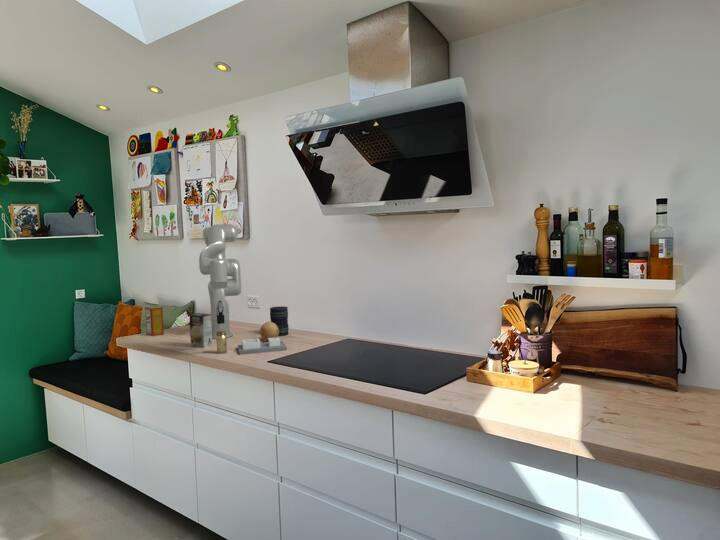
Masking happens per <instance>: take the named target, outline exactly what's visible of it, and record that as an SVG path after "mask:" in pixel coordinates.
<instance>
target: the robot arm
mask: <svg viewBox="0 0 720 540" xmlns="http://www.w3.org/2000/svg"><path fill="white" fill-rule="evenodd" d="M237 229H238V228H237V227H236V226H235V225H234V224H226V223H225V224H213V225H211V226H208V227H205V228H204V229H203V230H202V237H203V240H204V243H205V247H204V248H202V251H201V252H200V253H199V257H198V261H199V262H198V268H199V272H200V273H201V274H202V275H205V276H206V275H207V276H208V275H209V276H210V277H209V279H210V281H209V282H208V284H207V289H208V294H209V302H210V314H211V326H212V340H213V339H216V340H217V334H216V332H218V331H226V339H227V338H232V337H233V336H234V333H233V332H231V324H230V306H229V303H228V301H227V299H226V297H235V296H240V294H241V293H242V278H241V277H242V276H241V267H240V266H241V265H240V262H239V260H238V259H236V258H226V248H227V245H226V243H234V242H235V241H237V239H238V230H237ZM228 277H231V278H228Z"/></svg>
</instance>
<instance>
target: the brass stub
mask: <svg viewBox="0 0 720 540" xmlns="http://www.w3.org/2000/svg"><path fill="white" fill-rule="evenodd" d="M216 334H217V339H216V348H217V349H216V350H217V351H216V352H217V354H220V355H223V354H227V353H228V347H227V346H228V342H227V338H226V331H218V332H216Z"/></svg>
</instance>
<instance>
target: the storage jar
mask: <svg viewBox="0 0 720 540" xmlns="http://www.w3.org/2000/svg"><path fill="white" fill-rule="evenodd" d="M269 317H270V322H273V323H275V324H276V325H277V326H278V329H279V335H278V337H286V336H288V335H289V327H290V326H289V323H288V321H289V320H288V318H289V308H288V306H281V305H280V306H272V307H269Z"/></svg>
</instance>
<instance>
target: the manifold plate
mask: <svg viewBox="0 0 720 540" xmlns="http://www.w3.org/2000/svg"><path fill="white" fill-rule="evenodd" d="M287 350H288V347H287V345H286V344H285V343H284V341H281V339H280V336H278V337H277V338H268V341H267V342H261V340H260V338H258V337H257V338H248V339H241V344H238V345H237V351H238V353H239V355H246V354H248V355H249V354H257V353H258V354H259V353H266V352H267V353H269V352H280V351H287Z"/></svg>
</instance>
